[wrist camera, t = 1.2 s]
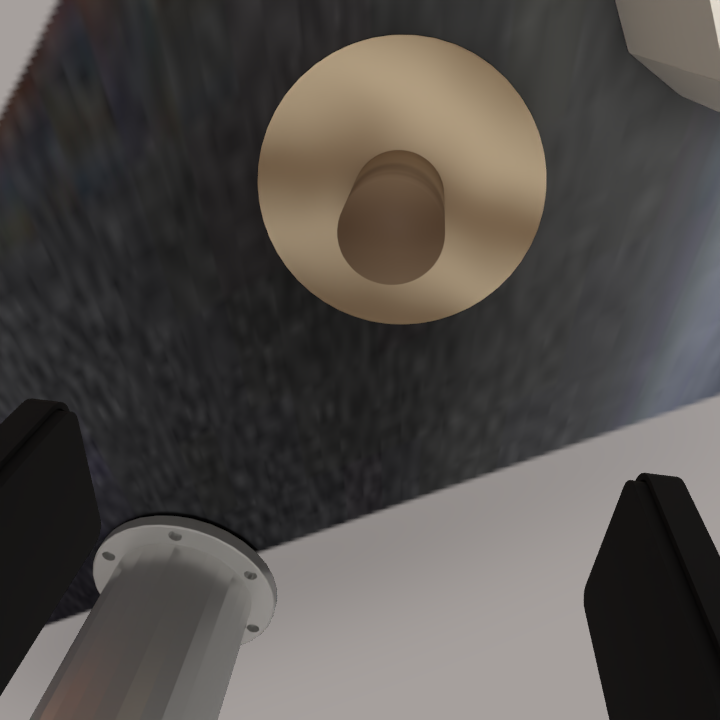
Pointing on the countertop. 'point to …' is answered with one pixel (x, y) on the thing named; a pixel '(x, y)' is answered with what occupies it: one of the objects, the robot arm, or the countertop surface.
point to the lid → (402, 179)
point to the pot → (677, 44)
